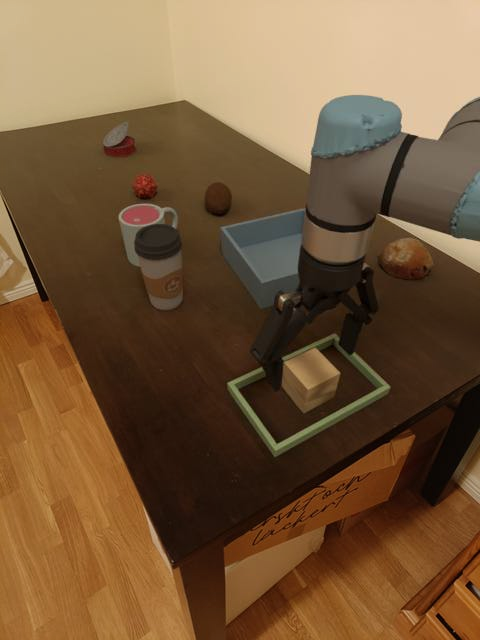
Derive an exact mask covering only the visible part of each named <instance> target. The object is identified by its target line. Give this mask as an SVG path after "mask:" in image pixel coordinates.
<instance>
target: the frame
mask: <svg viewBox="0 0 480 640" xmlns="http://www.w3.org/2000/svg"><path fill="white" fill-rule="evenodd" d="M339 339H340V336H339V335H337V333H335V332H334V333H332V334H329V335H327V336H326V337H323V338H321V339H319V340H317V341H314V342H313V343H310V344H309V345H306V346H304V347H302V348H299V349H298V350H296V351H293V352H291V353H289V354H287V355H285V356H281V358H282V359H283V367H284V362H286V361H288V360H290V359H292V358H294V357H296V356H298V355H301V354H303V353H305V352H307V351H309V350H311V349H313V348H317V350H318V351H319V352H321V351H322V350H324V349H327V348H329V347H330V346H334V348H336V349H337V350H338V352H340V354H342V355H343V356H344V357H345V359H347V361H349V362H350V363H351V364H352V365H353V366H354V367H355V368H356V370H358V371H359V372H360V373H361V374H362V375H363V376H364V377H365V378H366V379H367V380H368V381H369V382H370V383H371V384H372V385H373V386H374V387H375V390H373V391H372V392H369V393H368V394H366V395H364V396H362V397H360V398H358V399H357V400H355V401H353V402H352V403H350V404H348V405H346V406H344V407H341V408H340V409H338V410H337V411H335V412H333V413H331V414H329V415H328V416H326V417H324V418H322V419H321V420H319V421H317V422H315V423H313V424H311V425H309V426H308V427H306V428H304V429H302V430H300V431H298V432H296V433H295V434H293V435H291V436H289V437H287V438H286V439H284V440H282V441H280V442H278V443H277V442H276V440H275V439H274V438H273V436H272V435H271V434H270V432H269V431H268V430H267V428H266V427H265V425H264V424H263V423H262V421H261V419H260V418H259V417H258V415H257V414H256V412H255V411H254V410H253V408H252V407H251V406H250V404H249V402H247V400H246V398H245V397H244V396H243V394H242V393H241V392H240V389H242V388H244V387H246V386H248V385H250V384H253V383H254V382H256V381H258V380H261V379H263V378H265V374H266V373H265V371H264V370H263V369H262V366H261V367H259V368H257V369H254V370H252V371H250V372H248V373H246V374H243V375H241V376H239V377H237V378H235V379H233V380H231V381H229V382H227V391H228V393H229V394H230V395H231V397H232V399H233V400H234V401H235V403H236V404H237V405H238V407H239V408H240V410H241V411H242V413H243V414H244V416H245V417H246V418H247V420H248V421H249V424H251V425H252V427H253V429H254V430H255V432H256V433H257V434H258V436H259V437H260V439H261V440H262V441H263V443H264V444H265V446H266V447H267V449H268V450H269V451H270V453H271V454H272V456H273V457H274V458H276V457H279V456H280V455H282V454H284V453H285V452H287V451H289V450H290V449H292V448H294V447H296V446H298V445H299V444H301V443H303V442H305V441H307V440H308V439H310V438H312V437H314V436H316V435H317V434H319V433H321V432H323V431H324V430H326V429H328V428H330V427H332V426H333V425H335V424H337V423H339V422H341V421H342V420H344V419H346V418H347V417H350V416H352V415H353V414H355V413H357V412H358V411H360V410H363V409H364V408H365V407H368V406H369V405H371V404H373V403H375V402H377V401H378V400H380V399H382V398H383V397H385V396H387V395H389V393H390V391H391V389H392V388H391V386H390V385H389V384H388V382H386V381H385V380H384V379H383V378H382V377H381V376H380V375H379V374H378V373H377V372H376V371H375V370H374V369H372V367H371V366H370V365H369V364H367V362H366V361H365V360H363V358H362V357H360V356H359V355H358V354H357V353H356V352H355V351H354V353H353V354H352V355H350V356H349V355H348V354H347V353H346V352H345V351H344V350H343V349H342V348H341V347H340V346H339V345H338V343H339Z"/></svg>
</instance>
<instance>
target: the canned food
mask: <svg viewBox="0 0 480 640" xmlns="http://www.w3.org/2000/svg"><path fill="white" fill-rule="evenodd" d="M129 127H130V123H129V121H124V122H122V123H120V124H118V125H117V126H115V127H114V128H112V130H110V131H109V132H108V133H107V134H106V135H105V136H104V139H103V140H102V146H103V150H104V154H105V156H108V157H111V158H125V157H129V156H132V155H133V154H135V153H136V151H137V148H136V141H135V140H136V139H135V138H134V137H132V136H129V135H127V134H128V131H129Z"/></svg>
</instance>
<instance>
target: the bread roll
mask: <svg viewBox="0 0 480 640" xmlns="http://www.w3.org/2000/svg"><path fill="white" fill-rule="evenodd" d="M430 254H431V253H430V252H429V250H428V249H427V248H426V246H425V245H424V244H423V243H422V242H421V241H420V240H419V239H417V238H414V237H405V238H399V239H396V240H395V241H393V242H390V243H389V244H387V245H386V246H385V247H384V249H383V250H382V251H381V254H380V257H379V263H380V266H381V268H382V269H383V270H384V271H385V272H386V273H387V274H388V275H391V276H393V277H395V278H398V279H401V280H409V281H415V280H419V279H422V278H423V277H425V276H426V275H427V274H430V273H432V270H431V267H432V266H434V264H435V263H434V262H433V258H432V257H431V255H430Z"/></svg>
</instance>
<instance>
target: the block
mask: <svg viewBox="0 0 480 640" xmlns="http://www.w3.org/2000/svg"><path fill="white" fill-rule="evenodd" d="M340 377H341V372H340V371H339V370H338V368H337V367H335V366H334V365H333V364H332V363H331V362H330V361H329V360H328V359H327V358H326V357H325V356H324V354H322V352H321V351H318V350H317V348H313V349H311V350H309V351H307V352H305V353H303V354H301V355H298V356H296V357H294V358H292V359H290V360H288V361H286V362H284V367H283V369H282V377H281V388H282V389H283V390H284V391H285V393H286V394H287V396H288V397H289V398H290V399H291V400H292V401H293V403H294V404H295V405H296V406H297V408H298V409H300V412H301V413H303V414H306V413H308V412H310V411H311V410H313V409H315V408H317V407H319V406H322V405H323V404H324V403H326V402H328V401H330V400H333V399H334V398H335V396H336V393H337V388H338V385H339V380H340Z"/></svg>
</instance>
